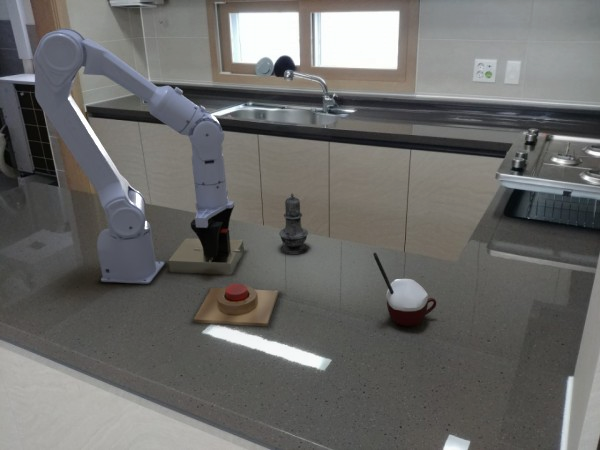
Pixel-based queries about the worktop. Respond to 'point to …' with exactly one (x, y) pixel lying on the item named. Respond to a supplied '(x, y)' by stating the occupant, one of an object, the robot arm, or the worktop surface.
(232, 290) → the button
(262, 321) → the button block
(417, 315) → the cocoa
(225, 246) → the knob
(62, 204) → the worktop surface
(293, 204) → the salt shaker
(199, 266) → the panel
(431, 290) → the worktop surface
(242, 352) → the worktop surface
